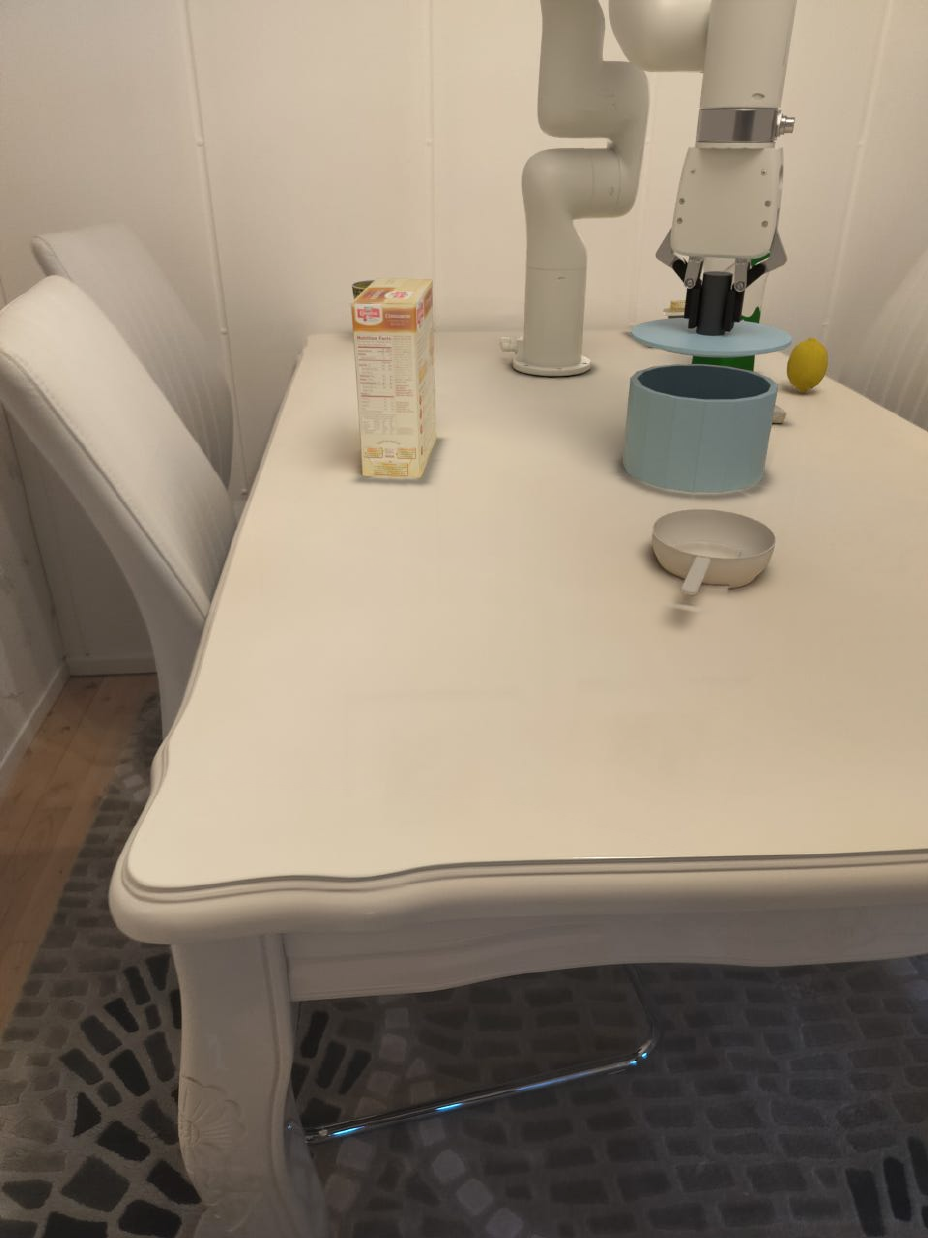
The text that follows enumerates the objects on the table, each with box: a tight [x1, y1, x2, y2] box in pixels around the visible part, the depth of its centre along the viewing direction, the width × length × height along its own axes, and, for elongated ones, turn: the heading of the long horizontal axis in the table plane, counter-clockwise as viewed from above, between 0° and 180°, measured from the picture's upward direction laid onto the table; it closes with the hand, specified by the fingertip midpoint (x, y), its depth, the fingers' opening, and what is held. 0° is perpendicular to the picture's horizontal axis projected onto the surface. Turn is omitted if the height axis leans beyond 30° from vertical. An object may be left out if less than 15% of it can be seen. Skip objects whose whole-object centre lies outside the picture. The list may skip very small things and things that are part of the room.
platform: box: [627, 299, 686, 348], centre depth 162 cm, size 12×18×7 cm, turn 100°
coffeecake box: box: [349, 277, 437, 479], centre depth 102 cm, size 15×7×20 cm, turn 174°
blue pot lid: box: [630, 271, 793, 357], centre depth 93 cm, size 17×17×7 cm
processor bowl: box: [622, 363, 780, 494], centre depth 100 cm, size 16×16×10 cm
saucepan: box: [651, 508, 777, 596], centre depth 77 cm, size 11×18×4 cm, turn 157°
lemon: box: [786, 337, 829, 394], centre depth 130 cm, size 6×6×8 cm
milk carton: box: [690, 252, 770, 372], centre depth 137 cm, size 9×9×20 cm
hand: (711, 325), depth 94 cm, fingers closed on blue pot lid, 3 cm apart
